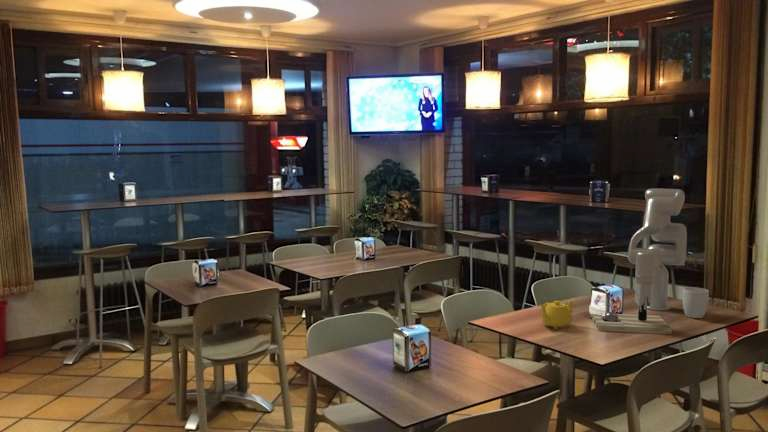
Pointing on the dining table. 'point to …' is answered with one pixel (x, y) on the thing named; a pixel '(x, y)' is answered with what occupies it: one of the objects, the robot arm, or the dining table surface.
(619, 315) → the runway board
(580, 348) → the dining table surface
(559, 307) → the teapot
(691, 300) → the mug
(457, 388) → the dining table surface
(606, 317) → the ball
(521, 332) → the dining table surface
